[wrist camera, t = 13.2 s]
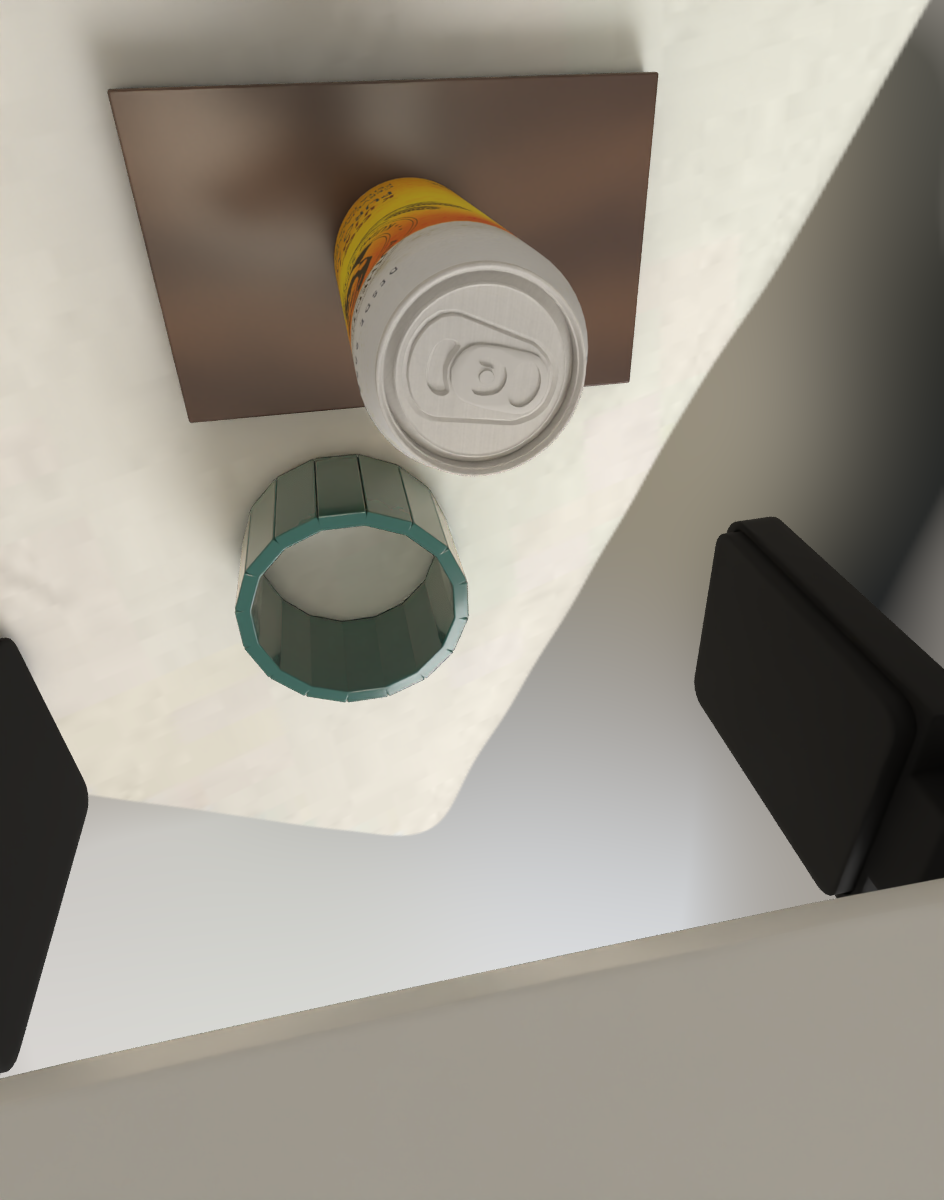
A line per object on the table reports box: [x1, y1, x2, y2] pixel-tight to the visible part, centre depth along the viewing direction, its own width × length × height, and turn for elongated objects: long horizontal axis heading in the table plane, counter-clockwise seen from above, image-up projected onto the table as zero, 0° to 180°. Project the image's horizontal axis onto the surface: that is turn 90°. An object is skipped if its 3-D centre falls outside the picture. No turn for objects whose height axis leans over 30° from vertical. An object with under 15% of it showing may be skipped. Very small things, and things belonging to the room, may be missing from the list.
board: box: [107, 72, 658, 423], centre depth 31 cm, size 12×20×2 cm, turn 91°
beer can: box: [334, 177, 588, 476], centre depth 25 cm, size 6×6×15 cm
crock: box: [235, 454, 469, 702], centre depth 37 cm, size 10×10×6 cm
